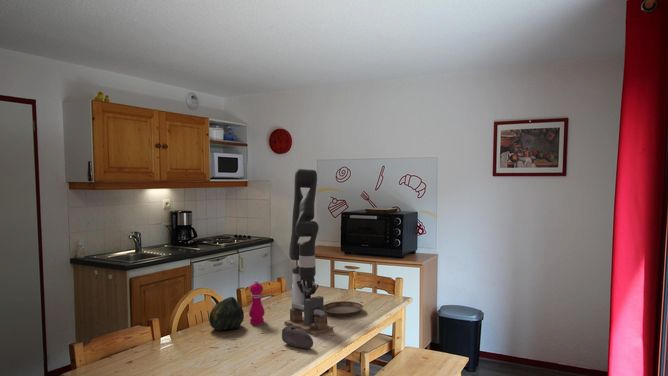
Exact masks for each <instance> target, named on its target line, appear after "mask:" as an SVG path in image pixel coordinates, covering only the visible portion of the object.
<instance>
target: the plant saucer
mask: <svg viewBox="0 0 668 376" xmlns="http://www.w3.org/2000/svg"><path fill="white" fill-rule="evenodd" d="M363 309H364V305H363V304H361V303H359V302H356V301H350V300H347V301H346V300H344V301H343V300H342V301H332V302H328V303H326V304H324V311H325V313H326V315H327V316H329V317H332V318H343V319H344V318H350V317H351V318H352V317H354V316H355V317H356V315H359V313H360V312H361V311H362V310H363Z"/></svg>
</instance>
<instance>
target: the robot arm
mask: <svg viewBox="0 0 668 376" xmlns="http://www.w3.org/2000/svg"><path fill="white" fill-rule="evenodd" d="M317 185H318V173H317V171H316V170H315V169H306V168H304V169H303V168H298V169H296V170H295V173H294V192H293V193H294V198H293V208H292V219H291V222H292V223H291V225H292V226H291V236H290V243H289V251H288V252H289V254H288V255H289V258H290V260H291V261H298V264H296V265H295V266H293V267H292V271H291V272H292V286H291V305H292V304H293V303H294V302H295V303H299V304H302V305H304V299H308V298H312V295H315V293H316V291H317V289H318V288H319V284H317V283H316V279H315V277H316V275H317V274H316V272H317V271H316V248H315V247H316V240H317V236H318V234H319V224H318V222H317V221H315V220H314V218H315V202H316V195H317V187H318V186H317ZM302 188H305V189H306V188H307V189H309V190H308V192H307V193H306V194H305V195H303V193H302ZM306 237H307V238H309V237H310V239H308V240H306V241H302V242H299V240H300V238H306Z"/></svg>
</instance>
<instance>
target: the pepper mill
mask: <svg viewBox="0 0 668 376" xmlns="http://www.w3.org/2000/svg"><path fill="white" fill-rule="evenodd" d="M249 291H250V293H251V294H250V295H251V296H250V297H251V298H252V299H251V300H252V301H251V306H250V308H249V311H248V316H249V317H250V319H249V322H250V325H262V324H264V319H265V318H264V316H265V308H264V306H263V304H262V297H263V293H262V292H263V291H264V287H263V285H262V284H261V283H260V282H259V280H257V279H255V280H254V283H252V284H251V285H250V287H249Z"/></svg>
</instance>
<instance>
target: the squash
mask: <svg viewBox="0 0 668 376" xmlns="http://www.w3.org/2000/svg"><path fill="white" fill-rule="evenodd" d="M208 319H209V320H208V321H209V324H210V327H211V328H213V329H214V330H217V331H223V330H224V331H225V330H236V329H238V328H240V327H241V325H242V323H243V321H244V319H245V313H244V309H243V307H242V306H241V304H240V303H239V302H238V300H237V299H236V298H235V297H234V296H230V297H226V298H224V299H222V300H220V301H219V302H218V303H216V304H215V305H214V306H213V307H212V309H211V311H210V313H209V318H208Z"/></svg>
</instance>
